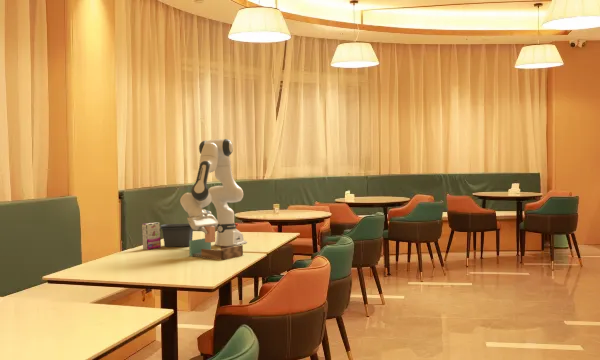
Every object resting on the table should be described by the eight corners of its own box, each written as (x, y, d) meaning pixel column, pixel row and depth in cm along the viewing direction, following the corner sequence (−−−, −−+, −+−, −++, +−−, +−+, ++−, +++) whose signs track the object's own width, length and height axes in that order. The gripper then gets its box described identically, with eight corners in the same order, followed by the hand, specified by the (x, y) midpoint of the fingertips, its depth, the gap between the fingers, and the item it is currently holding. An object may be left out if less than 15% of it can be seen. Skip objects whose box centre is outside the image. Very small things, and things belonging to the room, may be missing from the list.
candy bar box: (156, 247, 423) (155, 222, 423) (161, 247, 420) (160, 222, 420) (142, 249, 414) (141, 223, 414) (147, 250, 411) (146, 224, 411)
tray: (209, 252, 394) (208, 237, 394) (229, 254, 385) (229, 239, 385) (189, 256, 380) (189, 240, 380) (210, 258, 371) (210, 242, 371)
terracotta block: (210, 241, 385) (209, 226, 384) (215, 241, 382) (215, 226, 382) (205, 242, 381) (204, 226, 381) (210, 242, 379) (209, 227, 378)
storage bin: (159, 247, 422) (158, 225, 422) (166, 244, 437) (165, 223, 437) (191, 247, 420) (190, 225, 419) (197, 244, 435) (196, 222, 435)
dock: (222, 253, 389) (221, 243, 389) (242, 255, 380) (242, 245, 380) (201, 257, 374) (201, 247, 374) (222, 259, 365) (222, 249, 365)
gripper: (188, 213, 376) (201, 230, 371) (212, 210, 393) (224, 227, 388) (183, 220, 379) (195, 238, 374) (206, 218, 396) (219, 234, 391)
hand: (210, 232), depth 381 cm, fingers closed on terracotta block, 4 cm apart
